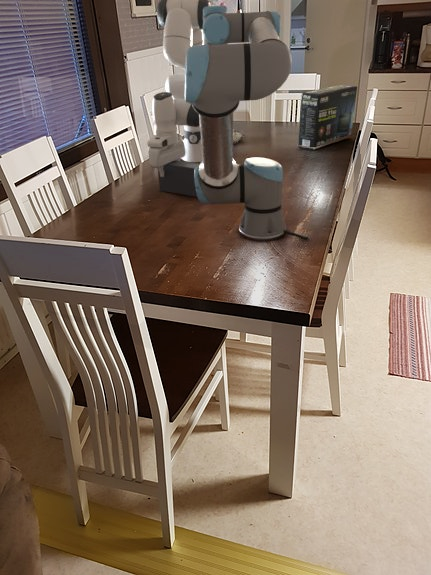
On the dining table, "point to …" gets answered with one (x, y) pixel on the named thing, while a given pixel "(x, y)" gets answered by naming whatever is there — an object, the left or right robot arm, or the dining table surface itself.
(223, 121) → the right robot arm
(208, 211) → the dining table surface
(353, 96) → the router box
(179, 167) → the box
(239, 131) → the fossil
